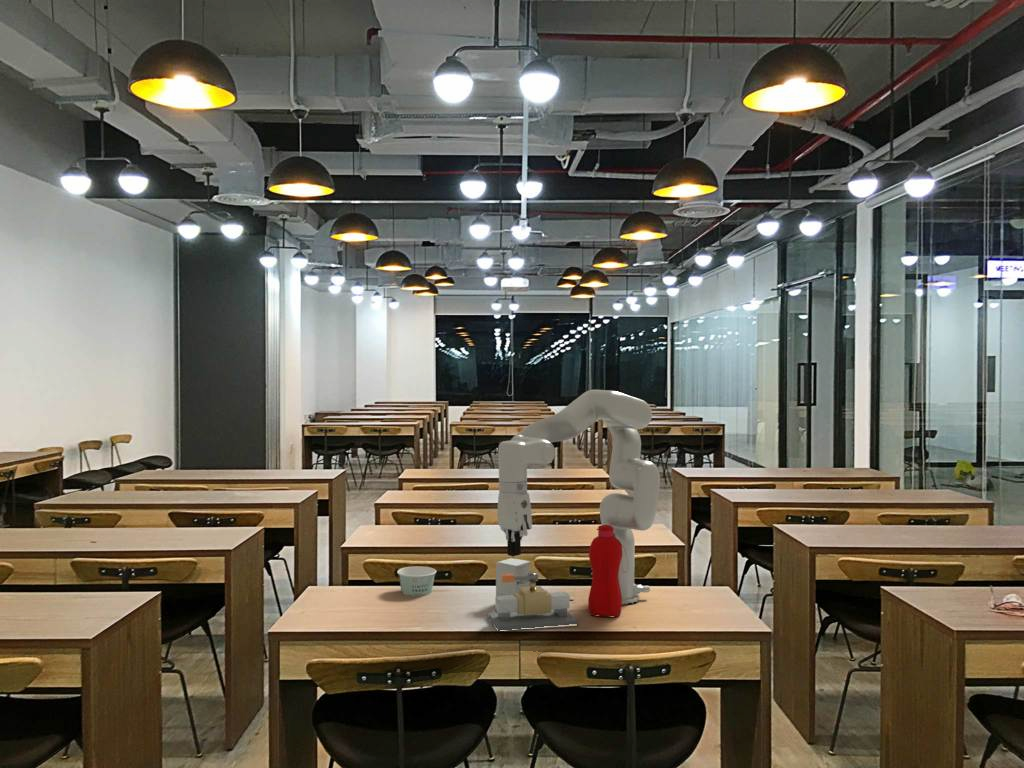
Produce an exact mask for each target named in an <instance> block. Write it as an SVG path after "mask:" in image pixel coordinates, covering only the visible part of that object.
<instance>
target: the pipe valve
mask: <svg viewBox="0 0 1024 768" xmlns="http://www.w3.org/2000/svg"><path fill="white" fill-rule="evenodd" d="M536 582H537V581H530V587H519V592H514V595H506V596H496V595H495V596H494V597H495V598H494V601H495V607H494V608H495V611H496V613H497V612H498V617H499V619H500V620H501V621H510V612H517V614H518V615H521V614H524V615H536V614H546V613H550V612H551V610H553V609H554V613H555V614H556V615H557V616H558V617H567V611H568V609H570V608H571V606H570V604H571V603H570V602H571V601H570V598H571V597H570V594H569V593H567V591H559V592H557V591H556V592H549V591H548V590H546V589H544V588H543V586H540V585H536V584H537V583H536Z"/></svg>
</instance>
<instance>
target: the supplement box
mask: <svg viewBox="0 0 1024 768" xmlns="http://www.w3.org/2000/svg"><path fill="white" fill-rule="evenodd" d="M495 566H496V567H495V569H496V570H495V574H496V575H495V596H506V595H514V592H519V587H530V581H528V580H514V582H508V583H503V582H502V581H501V574H506V573H513V574H514V575H525V574H528V573H530V571H531V561H529V560H525V559H524V560H523V559H518V558H513V557H512V558H507V559H503V560H500V561H497V562H496V564H495Z"/></svg>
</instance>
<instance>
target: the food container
mask: <svg viewBox="0 0 1024 768" xmlns="http://www.w3.org/2000/svg"><path fill="white" fill-rule="evenodd" d="M396 573H397V574H398V578H399V579H398V580H399V584H400V591H401V594H402V593H403V594H402V595H404V594H405V596H408V595H412V596H411V597H423V596H427V595H431V593H432V591H433V586H434V581H435V577H436V573H437V570H436V568H433V567H430V566H420V565H419V566H417V565H416V566H407V567H406V566H405V567H401V568H399V569H398V570H397V571H396ZM422 595H423V596H422Z"/></svg>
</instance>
